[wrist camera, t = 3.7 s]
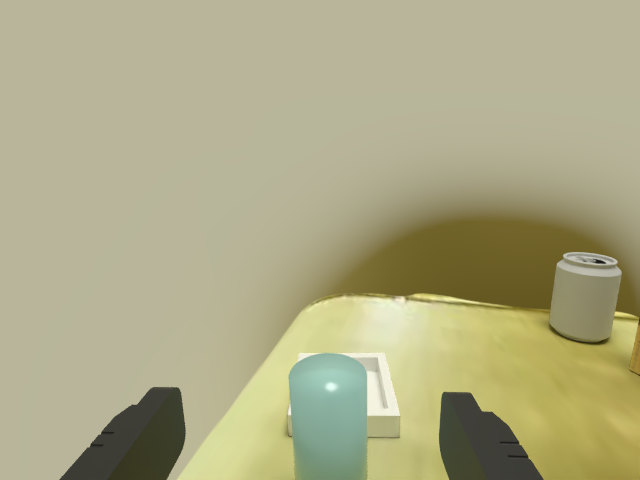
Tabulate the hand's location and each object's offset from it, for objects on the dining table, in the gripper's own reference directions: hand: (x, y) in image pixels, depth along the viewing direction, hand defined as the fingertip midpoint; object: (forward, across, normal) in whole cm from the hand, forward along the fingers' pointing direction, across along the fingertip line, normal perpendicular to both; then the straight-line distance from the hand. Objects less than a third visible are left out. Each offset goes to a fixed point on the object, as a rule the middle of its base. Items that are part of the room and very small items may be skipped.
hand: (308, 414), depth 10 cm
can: (+40, -37, +19) cm, 58 cm away
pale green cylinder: (+12, 0, +19) cm, 22 cm away
